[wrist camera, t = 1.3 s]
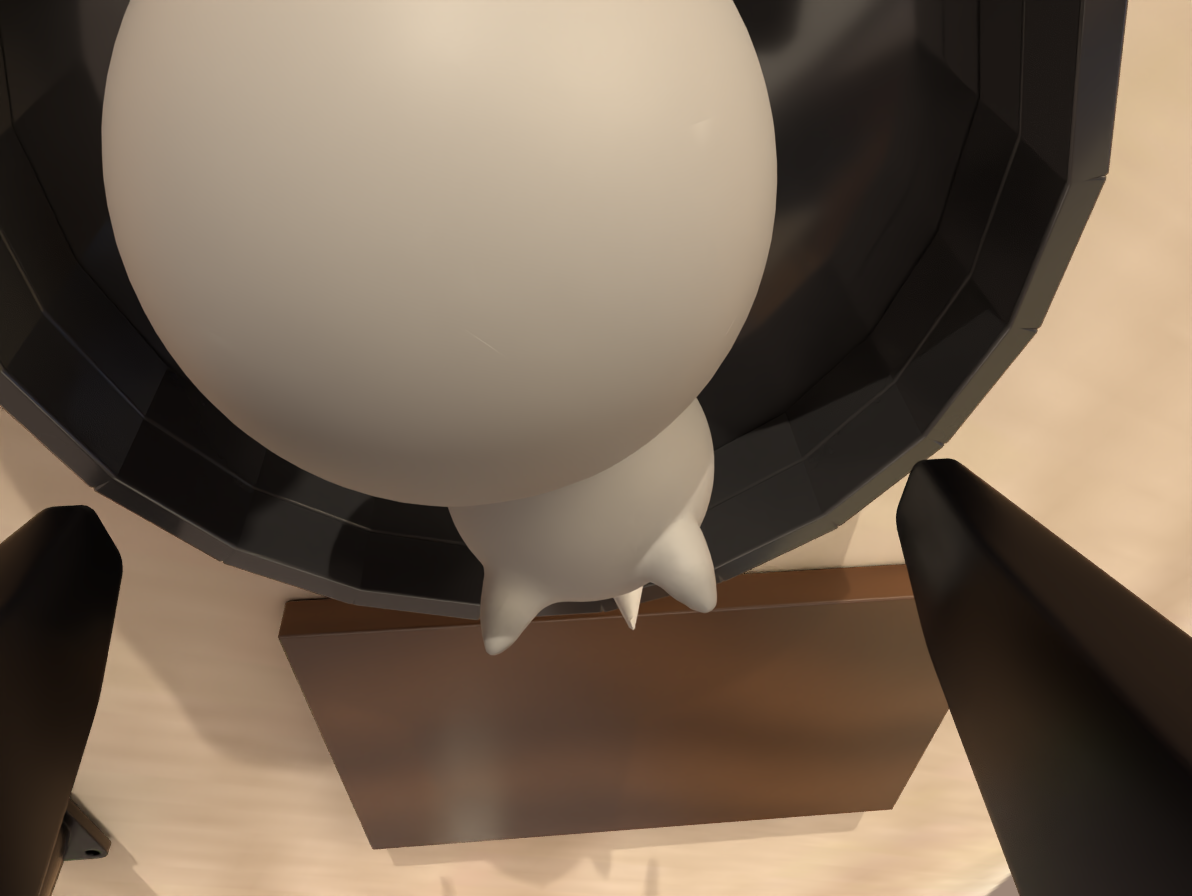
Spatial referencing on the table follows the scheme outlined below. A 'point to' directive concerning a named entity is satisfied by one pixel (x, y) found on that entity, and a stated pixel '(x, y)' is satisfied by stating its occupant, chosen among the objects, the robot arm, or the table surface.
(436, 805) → the cutting board
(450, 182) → the toy rhinoceros
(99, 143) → the pan
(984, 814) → the table surface
